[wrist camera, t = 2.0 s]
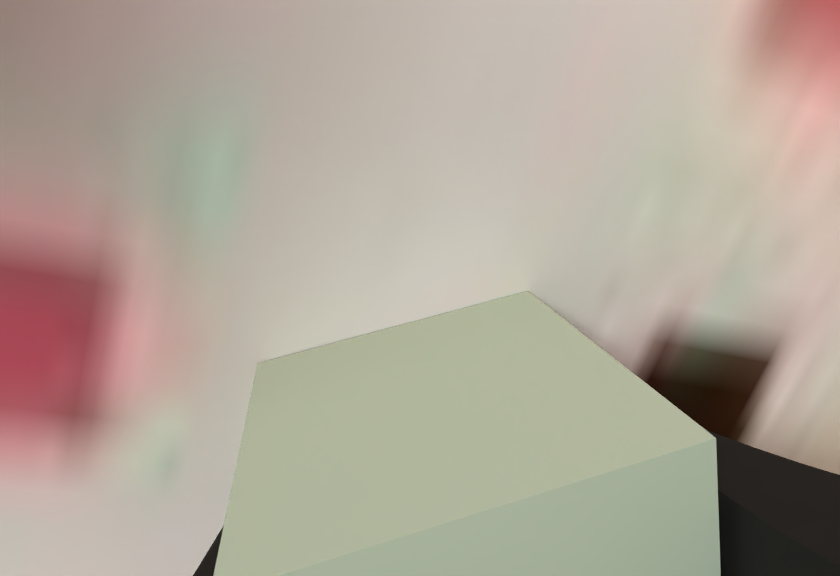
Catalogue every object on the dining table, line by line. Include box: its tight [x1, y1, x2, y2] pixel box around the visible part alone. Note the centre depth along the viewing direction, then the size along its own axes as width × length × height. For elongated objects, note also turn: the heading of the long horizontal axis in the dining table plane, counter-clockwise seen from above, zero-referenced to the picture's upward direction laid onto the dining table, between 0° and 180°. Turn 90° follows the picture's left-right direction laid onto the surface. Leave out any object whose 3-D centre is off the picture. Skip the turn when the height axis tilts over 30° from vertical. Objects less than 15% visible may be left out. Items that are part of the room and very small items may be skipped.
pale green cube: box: [213, 291, 721, 576], centre depth 8 cm, size 5×5×5 cm
